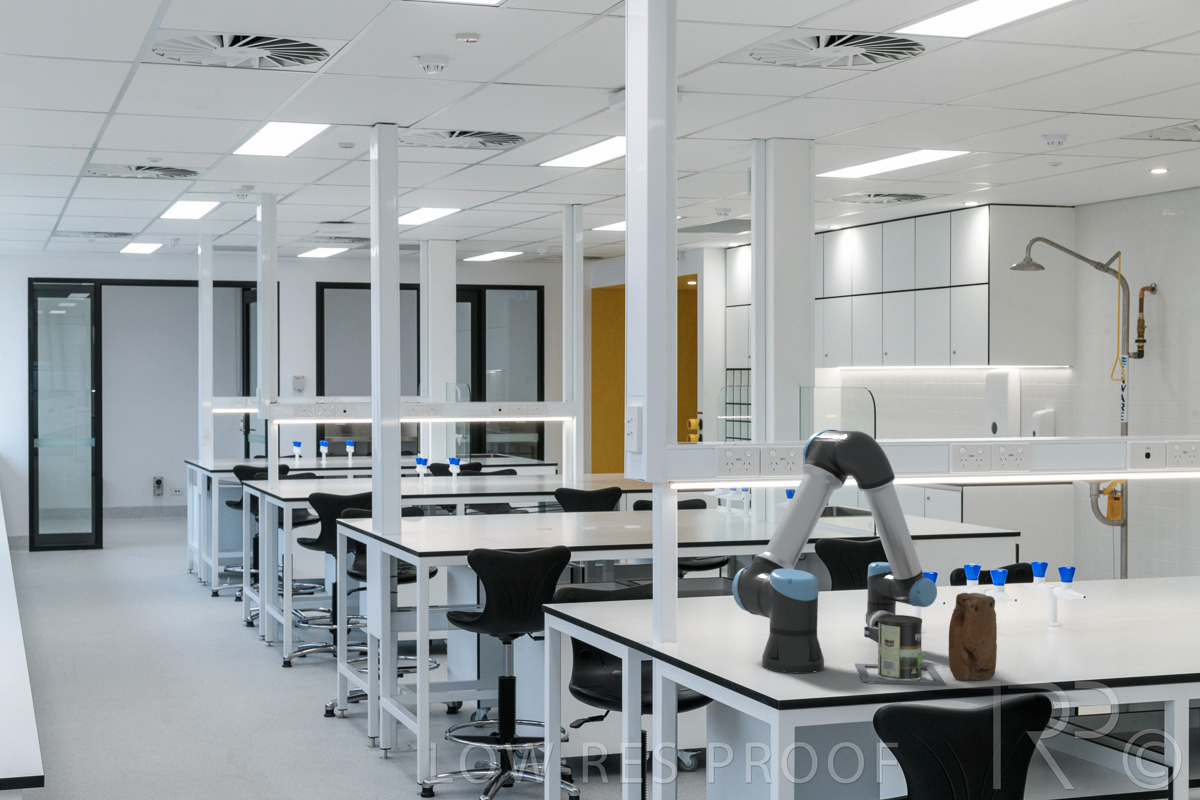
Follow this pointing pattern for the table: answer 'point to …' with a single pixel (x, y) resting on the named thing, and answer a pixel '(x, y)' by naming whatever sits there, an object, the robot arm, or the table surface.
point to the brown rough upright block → (973, 637)
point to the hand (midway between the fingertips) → (897, 645)
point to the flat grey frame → (931, 670)
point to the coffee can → (899, 647)
